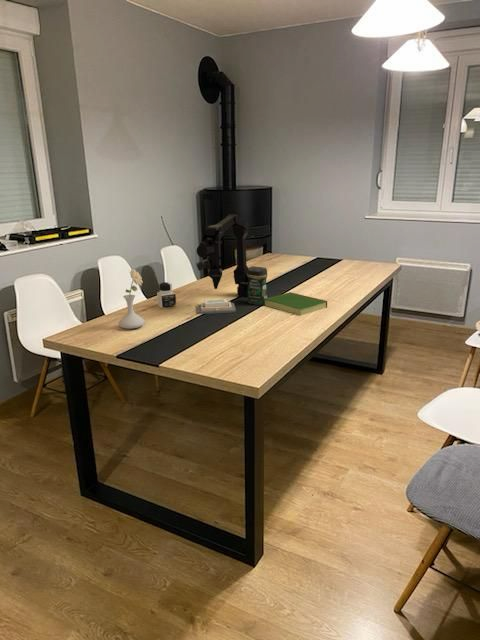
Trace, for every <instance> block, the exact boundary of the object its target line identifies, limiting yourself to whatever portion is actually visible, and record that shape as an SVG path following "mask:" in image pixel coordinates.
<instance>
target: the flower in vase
mask: <svg viewBox="0 0 480 640" xmlns="http://www.w3.org/2000/svg"><path fill="white" fill-rule="evenodd" d="M129 274H130V278H131V279H132V281H131V284H130V289H127V288H126V289H125V293H128V294H125V295H124V296H122V297H123V299H125V301H126V305H127V306H126V307H127V313H126V314H125V315H124V316H123V317H122V318H121V319H120V320H119V321H118V323H117V324H118V327H120V328H122V329H126V330H127V329H130V330H131V329H132V330H133V329H137V328H140V327H142V326H144V325H145V324H146V321H145V319H144V318H143V317H142V316H140V315H138V314H137V313H136V312H135V311H134V299H135V298H136V295H135V294H131V292H132V291H133V292H136V291H138V287H137V286H142V284H143V283H144V282H143V280H142V279H143V278H142V276H141V275H140V273H139V272H138V271H137V270H136V269H134V268H131V269H130V272H129ZM133 284H135V285H133Z"/></svg>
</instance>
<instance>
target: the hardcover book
mask: <svg viewBox="0 0 480 640" xmlns="http://www.w3.org/2000/svg"><path fill="white" fill-rule="evenodd" d="M264 300H265V304H264V306H266V307H269V308H273V309H277V310H281V311H283V312H287V313H290V314H294V315H297V316H304V315H307V314H310V313H313V312H316V311H320V310H323V309H328V301H327V300H325V299H320V298H317V297H316V298H315V297H313V296H312V297H311V296H308V295H304V294H299V293H295V292H291V291H290V292H285V293H282V294H278V295H274V296H270V297H267V298H266V299H264Z"/></svg>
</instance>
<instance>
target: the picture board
mask: <svg viewBox="0 0 480 640" xmlns="http://www.w3.org/2000/svg"><path fill="white" fill-rule="evenodd" d="M196 306H197V315H204V314H205V315H206V314H208V315H209V314H227V313H237V311H236V310H237V309H236V306H235V303H234V302H231V301H228V307H207V308H205V307H204V302H200V304H197V305H196Z"/></svg>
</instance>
